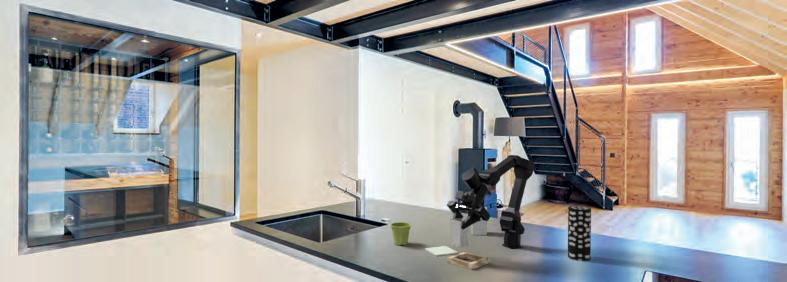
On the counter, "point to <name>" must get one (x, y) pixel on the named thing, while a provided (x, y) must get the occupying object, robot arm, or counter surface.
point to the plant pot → (400, 232)
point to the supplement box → (479, 227)
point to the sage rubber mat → (441, 250)
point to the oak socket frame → (476, 262)
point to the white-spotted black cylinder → (579, 233)
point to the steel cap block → (458, 233)
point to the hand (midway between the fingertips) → (457, 227)
